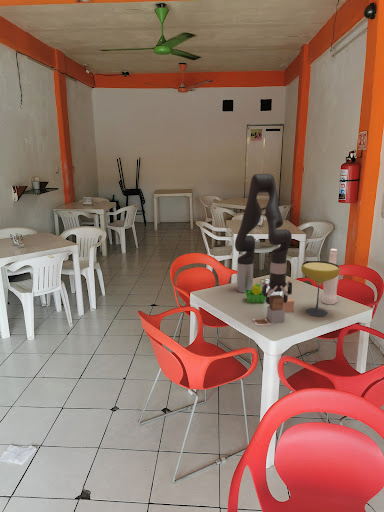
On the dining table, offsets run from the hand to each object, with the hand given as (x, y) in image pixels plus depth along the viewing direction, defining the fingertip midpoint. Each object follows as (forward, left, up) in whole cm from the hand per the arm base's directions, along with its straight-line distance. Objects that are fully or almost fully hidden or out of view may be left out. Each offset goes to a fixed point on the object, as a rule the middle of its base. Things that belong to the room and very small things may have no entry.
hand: (276, 303), depth 188 cm
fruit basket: (-25, -2, -9) cm, 27 cm away
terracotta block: (-10, +10, -9) cm, 17 cm away
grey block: (0, 0, -9) cm, 9 cm away
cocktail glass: (-5, +24, -9) cm, 26 cm away
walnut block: (0, 0, -3) cm, 3 cm away
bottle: (-17, +37, -9) cm, 42 cm away
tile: (+2, -8, -9) cm, 12 cm away
